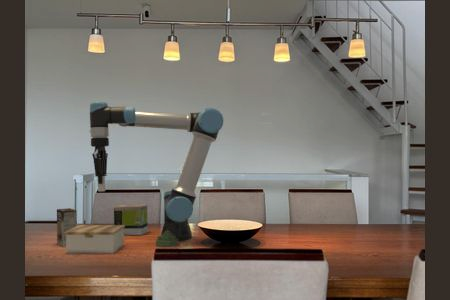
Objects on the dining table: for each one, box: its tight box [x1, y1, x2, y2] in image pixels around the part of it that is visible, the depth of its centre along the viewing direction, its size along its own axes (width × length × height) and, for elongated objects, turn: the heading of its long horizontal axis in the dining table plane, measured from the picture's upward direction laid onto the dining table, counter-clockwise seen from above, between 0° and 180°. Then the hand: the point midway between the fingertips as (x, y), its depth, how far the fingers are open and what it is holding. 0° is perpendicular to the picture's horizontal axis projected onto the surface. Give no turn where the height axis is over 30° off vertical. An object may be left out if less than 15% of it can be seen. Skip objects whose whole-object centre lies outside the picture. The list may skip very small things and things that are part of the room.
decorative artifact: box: [155, 229, 179, 248], centre depth 174 cm, size 10×7×10 cm
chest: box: [65, 229, 125, 255], centre depth 167 cm, size 20×14×8 cm
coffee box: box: [56, 208, 78, 248], centre depth 178 cm, size 9×6×16 cm
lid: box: [64, 224, 125, 238], centre depth 166 cm, size 21×16×2 cm
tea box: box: [113, 204, 149, 236], centre depth 200 cm, size 15×10×15 cm, turn 84°
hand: (101, 191), depth 168 cm, fingers closed
